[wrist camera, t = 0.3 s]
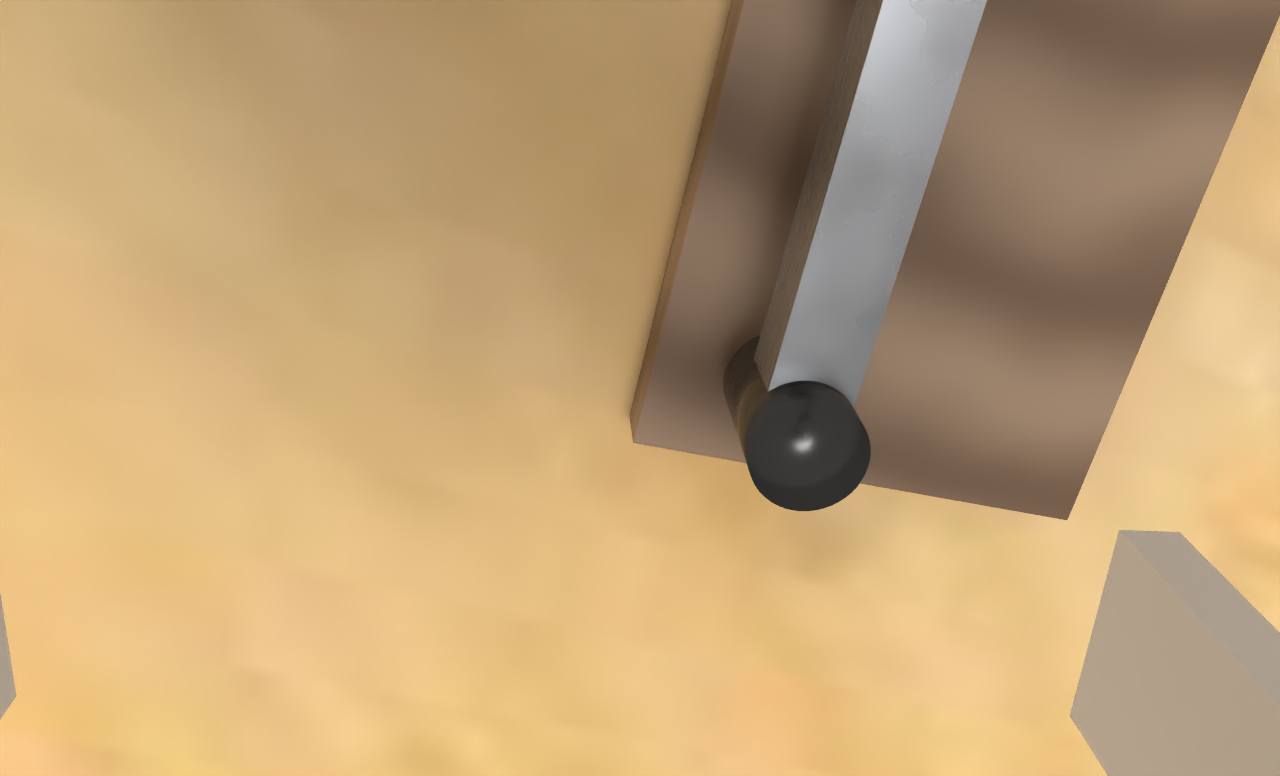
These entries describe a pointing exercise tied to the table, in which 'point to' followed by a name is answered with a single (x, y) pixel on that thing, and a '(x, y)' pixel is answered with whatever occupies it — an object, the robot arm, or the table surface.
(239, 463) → the table surface
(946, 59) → the lever
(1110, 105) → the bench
